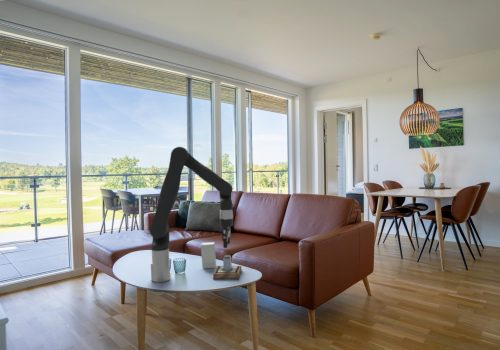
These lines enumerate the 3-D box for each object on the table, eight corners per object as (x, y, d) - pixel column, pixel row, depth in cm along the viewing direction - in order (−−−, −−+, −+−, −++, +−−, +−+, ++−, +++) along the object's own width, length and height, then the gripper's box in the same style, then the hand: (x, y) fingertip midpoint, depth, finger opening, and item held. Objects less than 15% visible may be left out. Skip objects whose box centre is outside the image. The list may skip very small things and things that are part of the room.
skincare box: (216, 265, 206) (215, 241, 205) (215, 268, 200) (214, 244, 199) (202, 265, 205) (201, 242, 205) (201, 268, 199) (200, 244, 199)
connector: (223, 274, 186) (223, 257, 185) (224, 272, 189) (224, 255, 189) (230, 274, 185) (230, 257, 185) (231, 272, 189) (231, 255, 189)
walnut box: (213, 279, 181) (213, 273, 181) (218, 270, 195) (217, 265, 195) (238, 279, 180) (238, 273, 179) (241, 270, 194) (241, 265, 193)
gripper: (221, 215, 194) (222, 242, 194) (217, 219, 179) (217, 249, 180) (234, 215, 193) (234, 242, 193) (231, 219, 179) (231, 249, 179)
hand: (226, 245), depth 187 cm, fingers open, 8 cm apart
